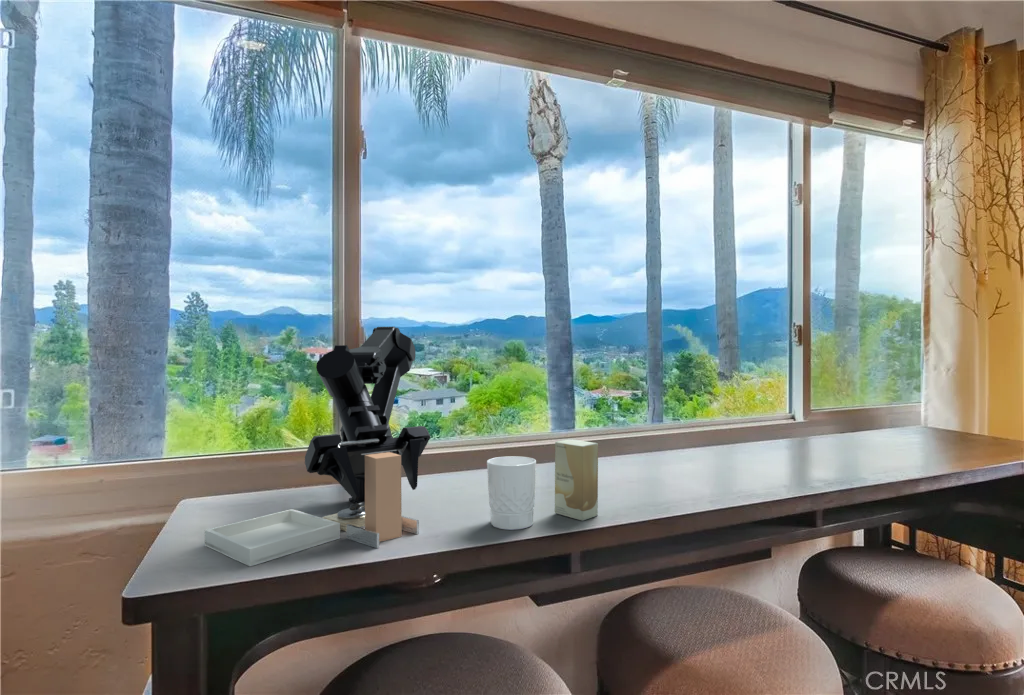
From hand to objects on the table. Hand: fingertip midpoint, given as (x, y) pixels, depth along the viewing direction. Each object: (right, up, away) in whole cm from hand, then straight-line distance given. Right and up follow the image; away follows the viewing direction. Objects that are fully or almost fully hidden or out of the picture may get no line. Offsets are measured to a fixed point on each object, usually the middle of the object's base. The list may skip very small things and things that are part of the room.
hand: (387, 493), depth 77 cm
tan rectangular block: (-1, -7, +1) cm, 7 cm away
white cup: (+18, -7, +6) cm, 21 cm away
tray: (-16, -7, -1) cm, 18 cm away
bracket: (-4, -7, +4) cm, 9 cm away
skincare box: (+29, -7, +11) cm, 32 cm away
